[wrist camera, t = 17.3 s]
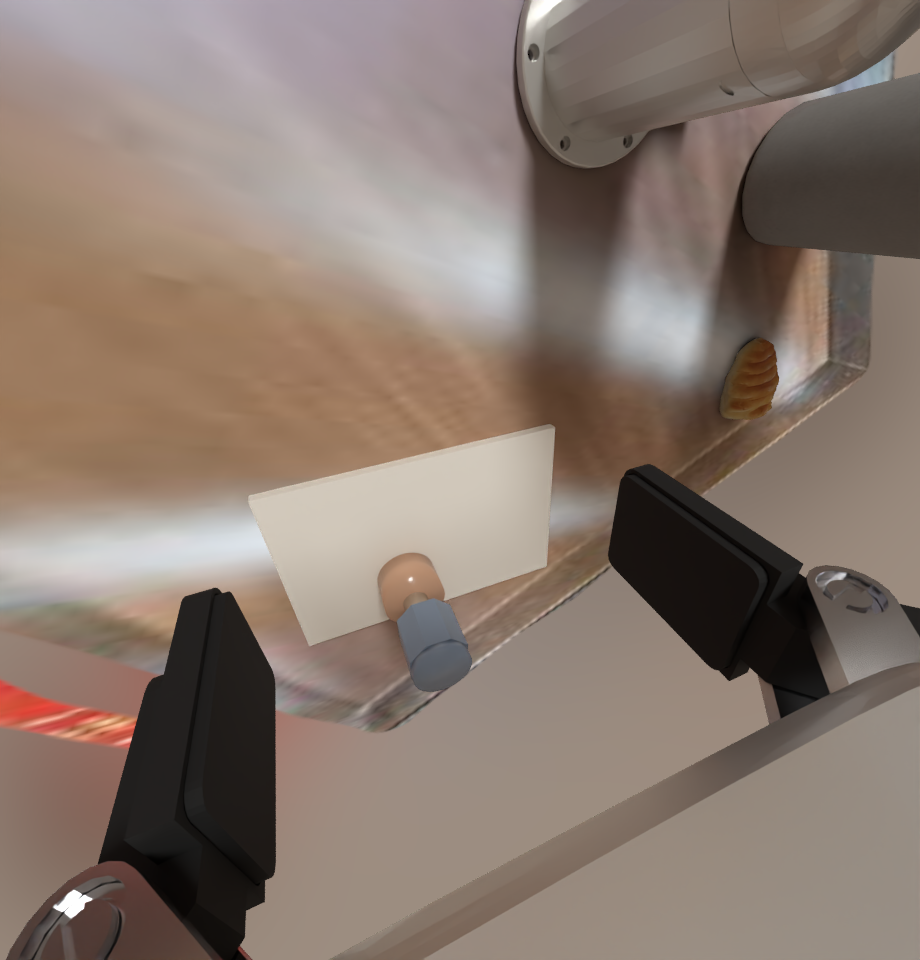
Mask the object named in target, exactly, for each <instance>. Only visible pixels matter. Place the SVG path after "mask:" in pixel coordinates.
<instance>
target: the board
mask: <svg viewBox="0 0 920 960" xmlns="http://www.w3.org/2000/svg"><path fill="white" fill-rule="evenodd" d="M554 439H555V427H554V426H553V425H551V424H546V425H542V426H538V427H534V428H530V429H526V430H521V431H517V432H513V433H509V434H505V435H500V436H496V437H492V438H488V439H484V440H479V441H475V442H471V443H467V444H463V445H459V446H454V447H450V448H446V449H442V450H438V451H433V452H429V453H425V454H421V455H417V456H412V457H408V458H404V459H400V460H396V461H392V462H387V463H383V464H379V465H375V466H371V467H366V468H362V469H358V470H354V471H350V472H345V473H341V474H337V475H333V476H329V477H325V478H320V479H316V480H312V481H308V482H304V483H299V484H295V485H291V486H287V487H283V488H278V489H274V490H270V491H266V492H262V493H258V494H253V495H249V497H248V503H249V505H250V507H251V510H252V512H253V515H254V517H255V519H256V522H257V524H258V526H259V529H260V531H261V533H262V536H263V538H264V541H265V543H266V545H267V548H268V550H269V552H270V555H271V557H272V559H273V562H274V564H275V567H276V569H277V571H278V574H279V576H280V578H281V581H282V583H283V585H284V588H285V590H286V593H287V595H288V597H289V600H290V602H291V604H292V607H293V609H294V611H295V614H296V616H297V619H298V621H299V623H300V626H301V628H302V630H303V633H304V635H305V637H306V640H307V642H308V645H309V646H312V645H315V644H318V643H321V642H324V641H327V640H330V639H333V638H336V637H338V636H341V635H344V634H347V633H350V632H353V631H356V630H359V629H362V628H365V627H368V626H371V625H374V624H377V623H380V622H383V621H386V620H389V618H388V616H387V615H386V612H385V609H384V605H383V602H382V598H381V595H380V591H379V587H378V583H377V578H378V574H379V572H380V570H381V568H382V567H383V566H384V565H385V564H386V563H387V562H388V561H389V560H391V559H392V558H394V557H396V556H398V555H401V554H405V553H420V554H423V555H425V556H427V557H428V558H429V559H430V560H431V562H432V564H433V566H434V568H435V570H436V572H437V574H438V577H439V579H440V581H441V583H442V585H443V588H444V591H445V597H444V601H445V600H448V599H451V598H454V597H457V596H460V595H463V594H466V593H469V592H472V591H475V590H478V589H481V588H484V587H487V586H490V585H493V584H496V583H499V582H502V581H505V580H508V579H511V578H514V577H517V576H520V575H523V574H526V573H529V572H532V571H535V570H538V569H541V568H544V567H547V553H548V537H549V520H550V504H551V488H552V472H553V455H554Z"/></svg>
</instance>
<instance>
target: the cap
mask: <svg viewBox="0 0 920 960" xmlns="http://www.w3.org/2000/svg"><path fill="white" fill-rule="evenodd" d="M397 626H398V633H399V638H400V641H401V644H402V648H403V651H404V655H405V658H406V661H407V665H408V668H409V671H410V675H411V678H412V679H413V681H414V684H415V686H416V687H417V688H418V689H420V690H422V691H427V692H434V691H439V690H443V689H446V688H448V687H450V686H452V685H454V684H456V683H457V682H459V681H460V680H461V679H462V678H463V677H464V676H465V675H466V674H467V673H468V671H469V669H470V667H471V664H472V658H471V656H470V654H469V651H468V644H467V642H466V639H465V637H464V635H463V633H462V630H461V628H460V626H459V624H458V622H457V619H456V617H455V615H454V613H453V611H452V608H451V606H450V605H449V604H447V603H444V602H442V601H439V600H437V599H435V598H433V599H430V600H426V601H423V602H419V603H416V604H413V605H411V606H410V607H409V608H408V609H407V610H406V611H405V612H404V614H403V615H402V616H401V617H400V618H399V619H398V620H397Z"/></svg>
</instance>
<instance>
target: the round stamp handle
mask: <svg viewBox="0 0 920 960" xmlns="http://www.w3.org/2000/svg"><path fill="white" fill-rule="evenodd" d="M377 583H378V587H379V591H380V595H381V598H382V602H383V605H384V609H385V612H386V615H387V616H388V618H389V619H391V620H392V621H394V622H396V623H397V620H398V619H399V618H400V617H401V616H402V615H403V614H404V612H405V611H406V610H407V609H408V608H409V607H410V606H411V605H413V604H416V603H419V602H423V601H426V600H430V599H433V598H435V599H437V600H439V601H442V602H443V601H444V597H445V591H444V588H443V585H442V583H441V581H440V579H439V577H438V574H437V572H436V570H435V568H434V566H433V564H432V562H431V560H430V559H429V558H428V557H427V556H425V555H423V554H420V553H405V554H401V555H398V556H396V557H394V558H392V559H391V560H389V561H388V562H387V563H386V564H385V565H384V566H383V567H382V568H381V570H380V572H379V574H378V578H377Z"/></svg>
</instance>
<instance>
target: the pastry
mask: <svg viewBox="0 0 920 960" xmlns="http://www.w3.org/2000/svg"><path fill="white" fill-rule="evenodd" d="M776 362H777V358H776V352H775V350H774V345H773V344H772V343H770V342H769V341H767V340H764V339H763V338H757V339H754V340H752V341H751V342H749V343H748V344H747V345H745V346H744V347H743V348H742V349H741V350H740V351H739V352H738V354H737V355H736V358H735V361H734V364H733V365H732V367H731V369H730V371H729V373H728V374H727V376H726V378H725V385H724V388H723V392H722V396H721V401H720V412H721V415H722V417H724V418H728V419H735V420H736V419H746V420H751V419H756V418H759V417H762V416H764V415H765V414H766V412H767V411H769V410H770V409H771V408H772V406H771V404H772V402H771V400H772V399H773V395H774V392H775V391H776V387H777V385H778V382H779V376H778V373H777V365H776Z"/></svg>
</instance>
